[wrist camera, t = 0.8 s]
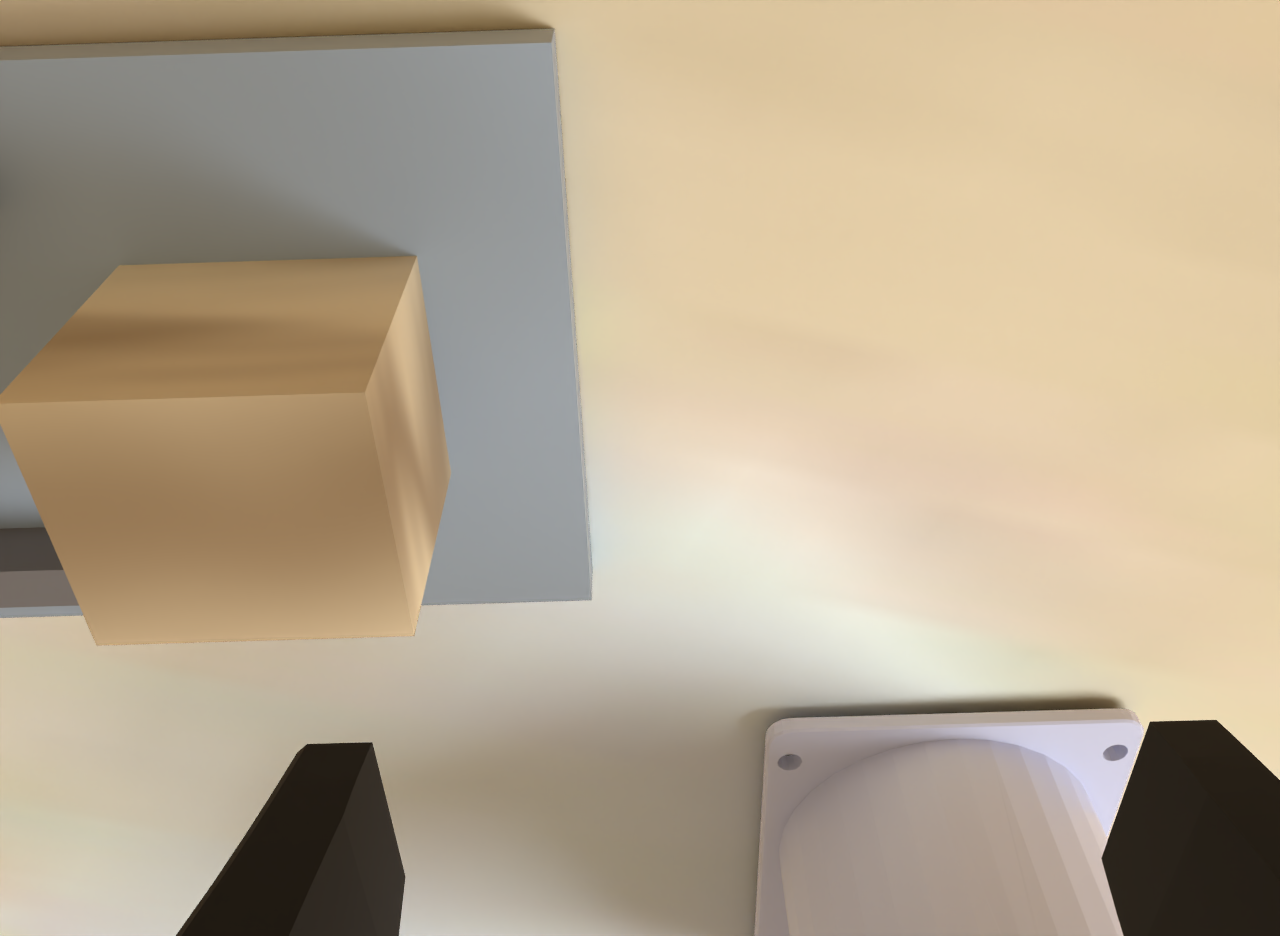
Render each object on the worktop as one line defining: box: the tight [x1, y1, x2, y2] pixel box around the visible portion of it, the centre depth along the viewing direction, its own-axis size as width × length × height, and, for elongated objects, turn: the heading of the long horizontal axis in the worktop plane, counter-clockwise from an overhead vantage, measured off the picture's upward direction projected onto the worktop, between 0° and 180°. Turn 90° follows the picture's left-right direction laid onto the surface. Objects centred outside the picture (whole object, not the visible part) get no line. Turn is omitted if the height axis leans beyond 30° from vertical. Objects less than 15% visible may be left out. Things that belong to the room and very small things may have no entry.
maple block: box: [0, 256, 451, 645], centre depth 16 cm, size 4×4×4 cm
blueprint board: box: [0, 28, 592, 618], centre depth 17 cm, size 10×15×2 cm, turn 91°
